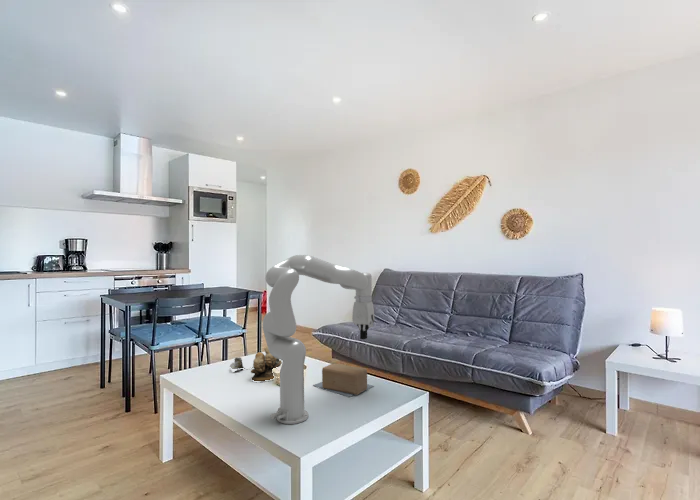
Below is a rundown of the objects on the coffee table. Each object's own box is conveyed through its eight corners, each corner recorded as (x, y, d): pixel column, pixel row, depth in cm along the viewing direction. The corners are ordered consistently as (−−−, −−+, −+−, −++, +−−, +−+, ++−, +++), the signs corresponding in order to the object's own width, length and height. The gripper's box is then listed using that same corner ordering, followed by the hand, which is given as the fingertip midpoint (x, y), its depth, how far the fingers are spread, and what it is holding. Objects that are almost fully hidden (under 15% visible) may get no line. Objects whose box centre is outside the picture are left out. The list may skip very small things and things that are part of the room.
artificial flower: (268, 374, 219) (265, 358, 216) (228, 379, 220) (224, 363, 217) (271, 365, 228) (268, 350, 225) (232, 370, 228) (229, 355, 226)
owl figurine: (275, 371, 220) (274, 341, 220) (287, 376, 212) (287, 344, 212) (246, 379, 207) (246, 346, 207) (258, 384, 199) (258, 350, 199)
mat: (349, 397, 180) (349, 396, 180) (313, 385, 195) (313, 385, 195) (374, 386, 193) (374, 385, 193) (338, 376, 209) (338, 376, 209)
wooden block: (357, 395, 180) (321, 388, 191) (368, 389, 189) (333, 382, 199) (357, 373, 180) (321, 367, 191) (367, 368, 189) (332, 362, 199)
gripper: (346, 298, 187) (346, 337, 187) (371, 301, 177) (371, 342, 177) (356, 297, 193) (356, 335, 193) (381, 299, 183) (381, 339, 183)
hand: (363, 338), depth 185 cm, fingers closed
